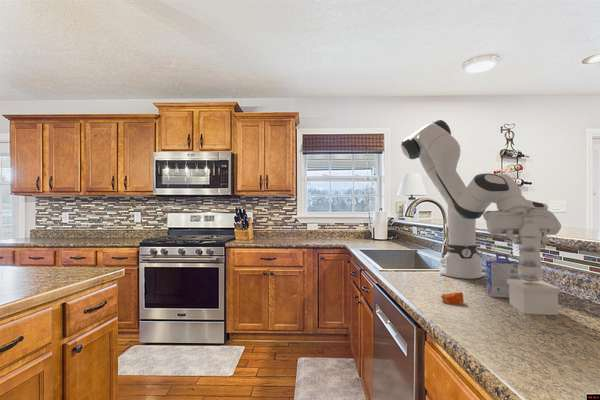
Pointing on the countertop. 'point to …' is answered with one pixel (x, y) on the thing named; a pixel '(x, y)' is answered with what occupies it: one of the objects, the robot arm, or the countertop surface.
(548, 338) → the countertop surface
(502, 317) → the countertop surface
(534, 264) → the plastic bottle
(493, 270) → the ink cartridge box
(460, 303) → the rock
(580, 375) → the countertop surface
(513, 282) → the white square block
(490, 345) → the countertop surface
